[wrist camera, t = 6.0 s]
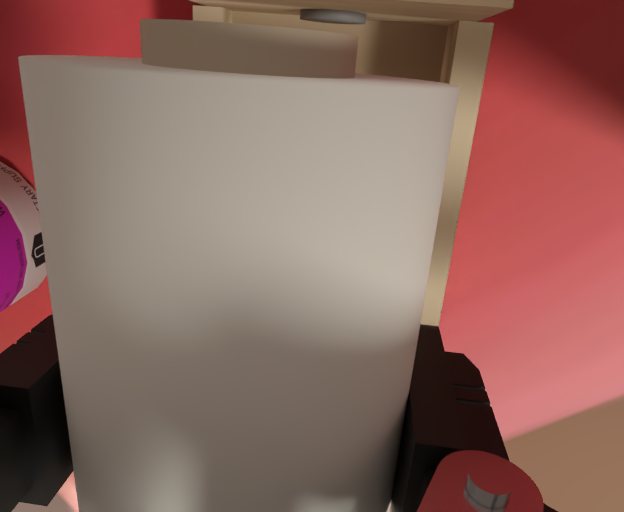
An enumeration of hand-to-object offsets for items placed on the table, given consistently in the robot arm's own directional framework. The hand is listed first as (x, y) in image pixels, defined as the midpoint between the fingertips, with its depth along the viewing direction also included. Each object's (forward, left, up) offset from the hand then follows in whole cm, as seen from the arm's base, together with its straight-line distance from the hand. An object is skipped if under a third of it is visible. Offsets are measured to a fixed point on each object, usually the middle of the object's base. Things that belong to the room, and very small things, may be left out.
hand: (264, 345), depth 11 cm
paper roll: (0, 0, -1) cm, 1 cm away
